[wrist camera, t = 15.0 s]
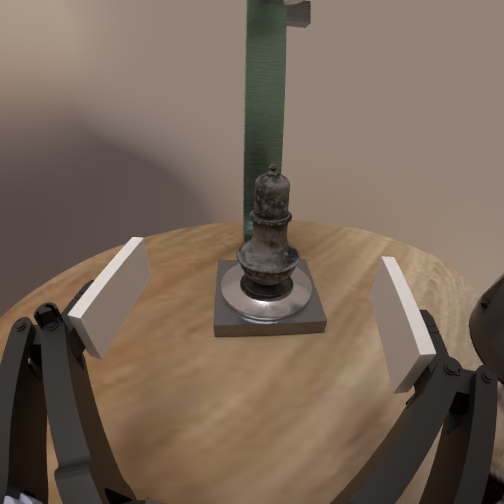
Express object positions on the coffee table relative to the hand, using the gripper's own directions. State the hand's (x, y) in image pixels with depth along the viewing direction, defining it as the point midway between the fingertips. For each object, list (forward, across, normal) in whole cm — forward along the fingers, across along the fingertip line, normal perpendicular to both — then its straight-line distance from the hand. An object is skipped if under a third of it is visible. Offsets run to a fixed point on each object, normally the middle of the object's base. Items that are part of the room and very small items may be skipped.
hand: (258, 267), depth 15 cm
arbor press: (+13, -1, -11) cm, 17 cm away
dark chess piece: (+10, 0, -9) cm, 13 cm away
